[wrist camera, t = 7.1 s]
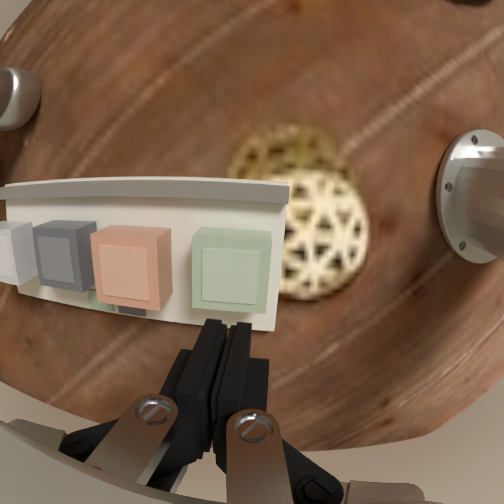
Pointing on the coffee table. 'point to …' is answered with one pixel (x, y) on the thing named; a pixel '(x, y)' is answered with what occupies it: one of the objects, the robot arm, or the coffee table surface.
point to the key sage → (231, 269)
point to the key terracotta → (133, 266)
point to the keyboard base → (159, 215)
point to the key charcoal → (65, 254)
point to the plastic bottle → (17, 97)
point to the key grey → (17, 252)
